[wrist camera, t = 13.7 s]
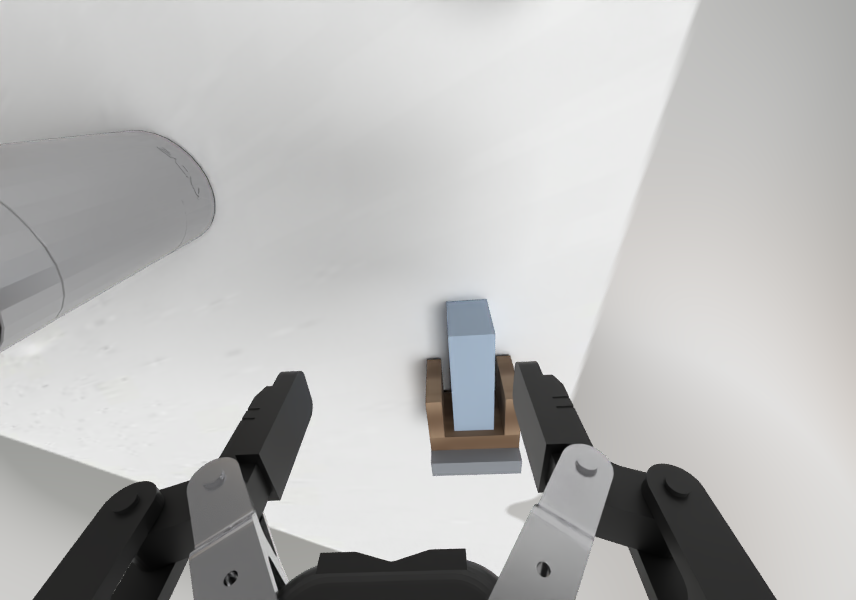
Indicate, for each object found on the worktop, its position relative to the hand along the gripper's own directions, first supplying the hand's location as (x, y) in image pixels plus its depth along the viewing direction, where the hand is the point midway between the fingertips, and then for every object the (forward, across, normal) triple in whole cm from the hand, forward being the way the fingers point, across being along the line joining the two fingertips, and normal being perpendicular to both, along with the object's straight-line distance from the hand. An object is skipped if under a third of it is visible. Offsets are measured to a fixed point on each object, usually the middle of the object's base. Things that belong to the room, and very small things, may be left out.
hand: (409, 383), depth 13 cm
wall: (+20, -4, +23) cm, 31 cm away
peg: (+20, -4, +14) cm, 25 cm away
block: (+20, -4, +19) cm, 28 cm away
